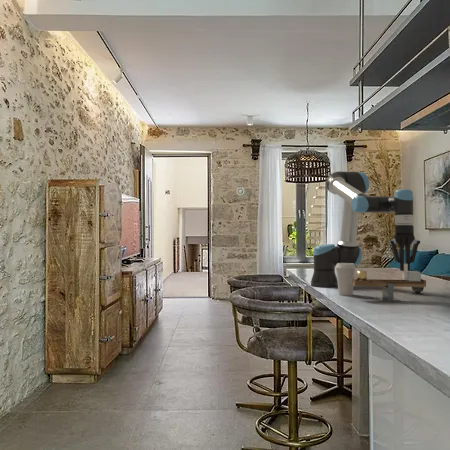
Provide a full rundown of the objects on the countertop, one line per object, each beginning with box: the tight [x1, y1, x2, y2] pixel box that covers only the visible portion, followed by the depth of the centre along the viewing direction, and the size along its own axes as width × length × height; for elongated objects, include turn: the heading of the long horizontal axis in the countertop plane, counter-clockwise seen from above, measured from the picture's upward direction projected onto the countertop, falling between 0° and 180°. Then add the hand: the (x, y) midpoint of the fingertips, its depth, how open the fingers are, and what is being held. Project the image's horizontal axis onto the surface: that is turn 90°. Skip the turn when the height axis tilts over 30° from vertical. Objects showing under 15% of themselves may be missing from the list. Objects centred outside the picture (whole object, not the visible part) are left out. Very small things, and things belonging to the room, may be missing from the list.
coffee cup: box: [335, 263, 357, 297], centre depth 198 cm, size 10×10×15 cm
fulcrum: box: [375, 283, 401, 303], centre depth 180 cm, size 9×8×8 cm
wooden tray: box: [351, 277, 427, 288], centre depth 180 cm, size 7×30×3 cm, turn 85°
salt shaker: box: [411, 269, 425, 296], centre depth 199 cm, size 6×6×12 cm
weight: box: [356, 270, 368, 281], centre depth 182 cm, size 4×4×5 cm
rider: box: [404, 270, 422, 282], centre depth 180 cm, size 5×5×5 cm
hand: (405, 278), depth 180 cm, fingers closed
